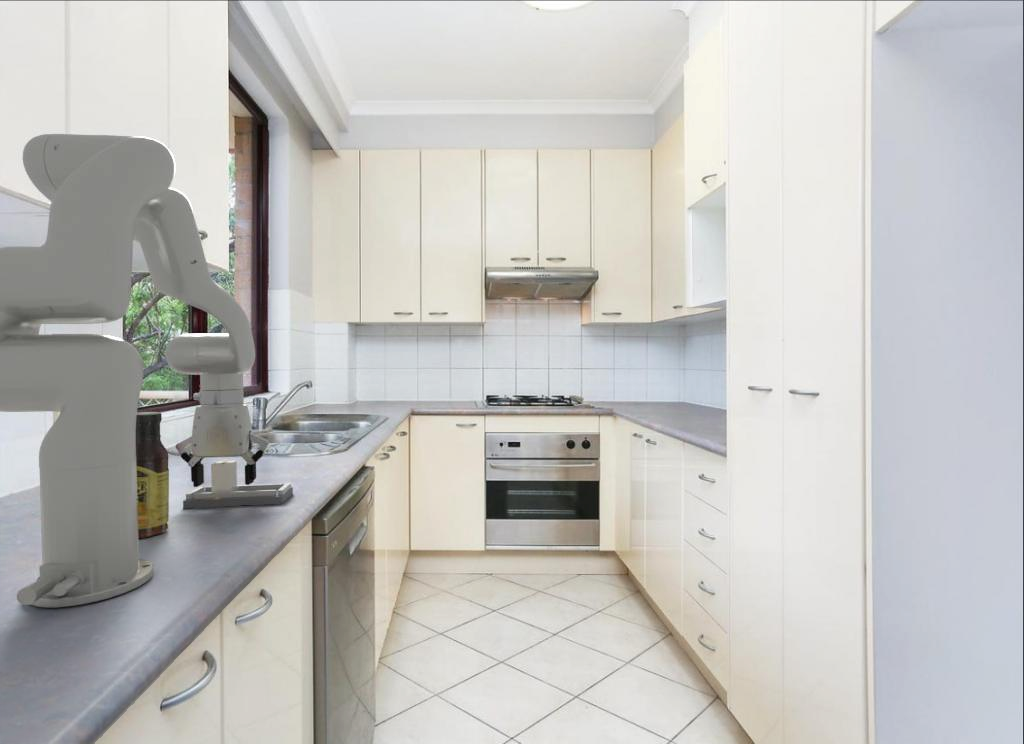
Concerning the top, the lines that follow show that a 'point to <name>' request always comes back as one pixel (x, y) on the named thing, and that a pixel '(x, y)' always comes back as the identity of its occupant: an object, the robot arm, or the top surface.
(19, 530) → the top surface
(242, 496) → the grey shallow tray
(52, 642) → the top surface
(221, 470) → the fader cap
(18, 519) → the top surface
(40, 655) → the top surface
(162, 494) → the sauce bottle
